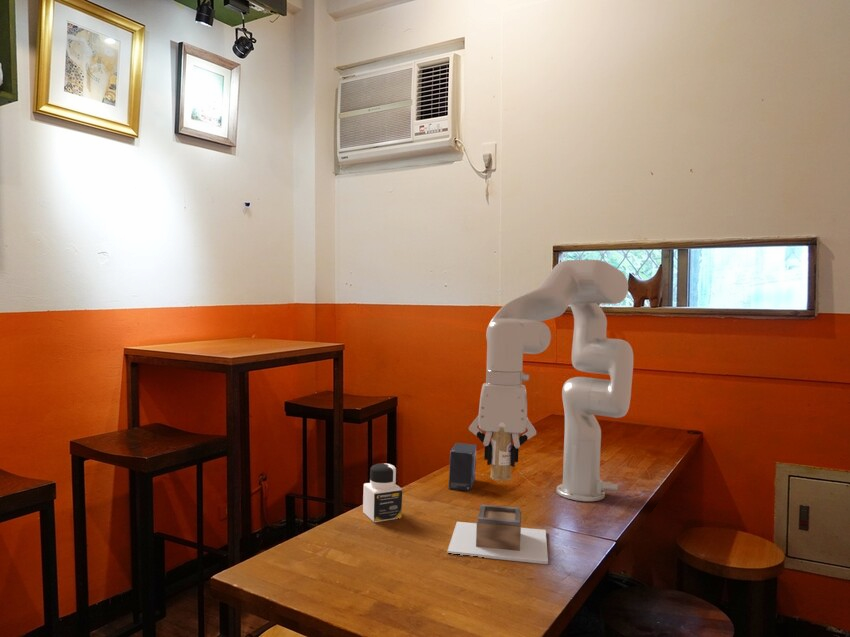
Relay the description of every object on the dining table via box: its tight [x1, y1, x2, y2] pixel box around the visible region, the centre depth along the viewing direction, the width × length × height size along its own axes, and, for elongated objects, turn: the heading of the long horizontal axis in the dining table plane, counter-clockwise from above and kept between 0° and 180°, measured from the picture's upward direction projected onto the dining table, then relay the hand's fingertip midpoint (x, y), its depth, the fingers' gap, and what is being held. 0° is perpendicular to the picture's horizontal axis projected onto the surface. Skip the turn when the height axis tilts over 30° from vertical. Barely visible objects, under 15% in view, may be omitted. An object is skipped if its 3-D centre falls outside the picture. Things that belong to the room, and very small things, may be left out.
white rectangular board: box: [446, 521, 549, 565], centre depth 124 cm, size 20×16×1 cm
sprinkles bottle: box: [489, 422, 513, 482], centre depth 123 cm, size 5×5×13 cm
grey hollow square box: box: [476, 503, 522, 551], centre depth 124 cm, size 9×9×6 cm
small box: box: [447, 442, 477, 492], centre depth 162 cm, size 11×6×10 cm, turn 168°
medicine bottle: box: [362, 462, 403, 523], centre depth 138 cm, size 7×7×12 cm
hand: (501, 463), depth 123 cm, fingers closed on sprinkles bottle, 4 cm apart
